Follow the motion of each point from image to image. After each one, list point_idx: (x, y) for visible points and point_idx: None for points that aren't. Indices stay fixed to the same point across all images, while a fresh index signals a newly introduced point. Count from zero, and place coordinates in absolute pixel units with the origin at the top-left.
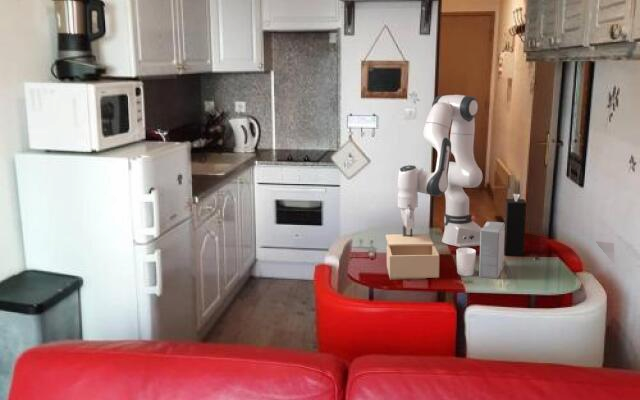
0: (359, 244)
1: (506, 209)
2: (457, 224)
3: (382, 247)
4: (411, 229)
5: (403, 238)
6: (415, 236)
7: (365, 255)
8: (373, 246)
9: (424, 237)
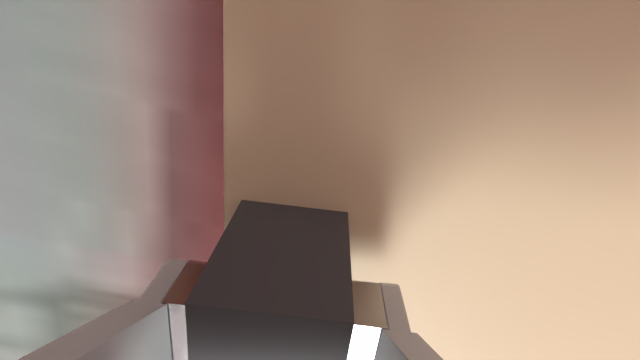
0: (7, 348)
1: None
2: None
3: (45, 247)
4: (347, 304)
5: (422, 334)
6: (367, 168)
7: None
8: (33, 291)
9: (471, 22)
